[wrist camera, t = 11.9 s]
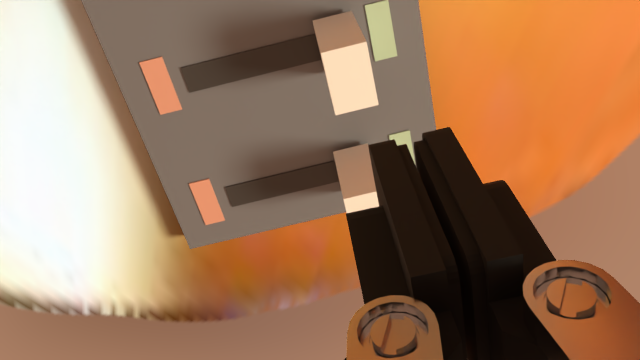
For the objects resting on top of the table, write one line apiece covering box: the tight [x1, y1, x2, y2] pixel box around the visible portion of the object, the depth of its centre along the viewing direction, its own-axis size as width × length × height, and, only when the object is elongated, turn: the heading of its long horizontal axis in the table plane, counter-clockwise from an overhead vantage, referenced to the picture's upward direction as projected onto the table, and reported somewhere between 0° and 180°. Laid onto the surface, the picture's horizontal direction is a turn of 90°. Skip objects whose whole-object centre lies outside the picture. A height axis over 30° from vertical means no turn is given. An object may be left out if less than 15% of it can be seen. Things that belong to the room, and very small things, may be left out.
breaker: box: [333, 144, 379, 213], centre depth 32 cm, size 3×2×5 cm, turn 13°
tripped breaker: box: [313, 11, 379, 115], centre depth 28 cm, size 3×2×5 cm, turn 13°
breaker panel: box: [81, 0, 436, 249], centre depth 31 cm, size 21×16×2 cm
